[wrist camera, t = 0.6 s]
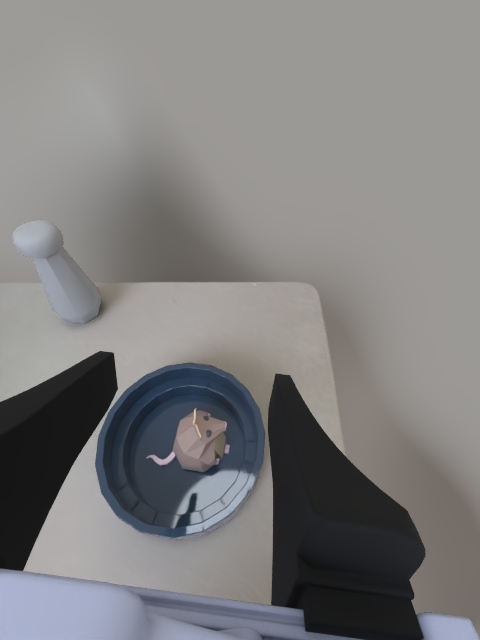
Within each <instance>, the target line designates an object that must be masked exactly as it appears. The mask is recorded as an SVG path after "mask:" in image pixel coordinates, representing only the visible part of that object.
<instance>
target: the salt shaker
mask: <svg viewBox="0 0 480 640" xmlns="http://www.w3.org/2000/svg"><path fill="white" fill-rule="evenodd" d="M13 242H14V244H15V246H16V247H17V249H18V250H19V251H20V252H21V253H22V254H23V255H24V256H25V257H29V258H32V259H33V261H34V264H35V266H36V269H37V271H38V274H39V276H40V279H41V282H42V284H43V287H44V289H45V292H46V294H47V297H48V300H49V302H50V305H51V307H52V310H53V311H54V312H55V313H56V314H57V315H58V316H59V317H60V318H62V319H64V320H67V321H69V322H71V323H87V322H89V321H90V320H92V319H93V318H95V317H96V316H98V312H99V307H100V303H101V295H100V291H99V289H98V288H97V287H96V286H95V284H94V283H93V282H92V281H91V280H90V278H89V277H88V276H87V275H86V274H85V273H84V271H82V269H81V268H80V267H79V265H78V264H77V263H76V262H75V261H74V260H73V258H72V257H71V256H70V255H69V254H68V252H67V251H66V250H65V249H64V248H63V236H62V233H61V231H60V230H59V229H58V228H57V226H56V225H54V224H53V223H51V222H48V221H43V220H35V221H30V222H27V223H24V224H23V225H21V226H19V227H18V228H17V229H16V230H15V231H14V233H13Z"/></svg>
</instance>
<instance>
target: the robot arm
mask: <svg viewBox="0 0 480 640" xmlns="http://www.w3.org/2000/svg"><path fill="white" fill-rule="evenodd" d="M117 389H118V387H117V378H116V369H115V360H114V353H111V352H103V351H99V352H97V353H95V354H94V355H92V356H90V357H88V358H86V359H85V360H83V361H81V362H79V363H78V364H76V365H74V366H72V367H71V368H69V369H67V370H65V371H63V372H62V373H60V374H58V375H56V376H54V377H52V378H50V379H49V380H47V381H45V382H43V383H41V384H39V385H37V386H35V387H33V388H31V389H29V390H27V391H25V392H22V393H20V394H18V395H16V396H13V397H11V398H9V399H6V400H4V401H2V402H0V640H480V639H479V637H478V635H477V633H476V631H475V629H474V626H473V624H472V622H471V620H469V619H468V618H467V617H461V616H454V615H447V614H439V613H432V612H424V613H419V614H417V615H416V614H415V611H414V608H413V605H412V602H411V600H413V599H414V592H413V589H412V587H411V584H410V581H409V579H410V578H411V577H412V575H413V574H414V573H415V572H416V570H417V569H418V568H419V567H420V565H421V564H422V562H423V560H424V558H425V548H424V545H423V543H422V541H421V538H420V536H419V533H418V531H417V529H416V527H415V525H414V523H413V522H412V519H411V517H410V515H409V513H408V511H407V510H406V509H405V508H403V507H402V506H400V504H398V503H397V502H395V501H394V500H393V499H392V498H391V497H389V496H388V495H387V494H386V493H384V492H383V491H382V490H381V489H379V488H378V487H377V486H376V485H375V484H374V483H373V482H371V481H370V480H369V479H368V478H367V477H366V476H365V475H364V474H363V473H362V472H360V471H359V470H358V469H357V468H356V467H355V466H354V465H353V464H352V463H351V462H350V461H349V460H348V459H347V457H346V456H345V455H344V454H343V453H342V452H341V451H340V450H339V449H338V448H337V447H336V445H335V444H334V443H333V442H332V441H331V439H330V438H329V437H328V436H327V434H326V433H325V432H324V430H323V429H322V428H321V426H320V425H319V424H318V422H317V421H316V419H315V418H314V416H313V415H312V413H311V412H310V410H309V409H308V407H307V405H306V404H305V402H304V400H303V399H302V397H301V395H300V393H299V392H298V390H297V388H296V386H295V384H294V382H293V380H292V378H291V377H290V375H282V374H276V375H275V380H274V384H273V389H272V394H271V399H270V404H269V412H268V435H269V446H270V457H271V467H272V478H273V563H272V600H271V605H265V604H257V603H250V602H243V601H235V600H228V599H221V598H213V597H206V596H199V595H191V594H184V593H177V592H169V591H162V590H154V589H147V588H140V587H132V586H125V585H118V584H110V583H106V582H99V581H92V580H84V579H77V578H70V577H62V576H55V575H47V574H40V573H33V572H25V571H23V570H24V567H25V565H26V563H27V560H28V558H29V556H30V553H31V551H32V548H33V546H34V544H35V541H36V539H37V537H38V535H39V533H40V530H41V528H42V526H43V524H44V522H45V520H46V517H47V515H48V513H49V511H50V509H51V507H52V505H53V503H54V501H55V499H56V497H57V495H58V492H59V490H60V488H61V486H62V484H63V483H64V481H65V479H66V477H67V475H68V473H69V471H70V469H71V467H72V465H73V463H74V462H75V460H76V458H77V457H78V455H79V453H80V452H81V450H82V449H83V447H84V446H85V444H86V443H87V441H88V440H89V438H90V437H91V435H92V433H93V432H94V430H95V429H96V427H97V426H98V424H99V423H100V421H101V420H102V418H103V416H104V415H105V413H106V412H107V410H108V408H109V406H110V404H111V402H112V400H113V398H114V396H115V394H116V392H117Z"/></svg>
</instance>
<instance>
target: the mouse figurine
mask: <svg viewBox="0 0 480 640" xmlns="http://www.w3.org/2000/svg"><path fill="white" fill-rule="evenodd" d="M196 409H197V408H195V409H194V412H192V413H190V414H189V415H187V416H186V417H184V418H183V419H181V420H180V423H179V426H178V430H177V434H176V438H175V442H174V446H173V451H172V453H171V454H170V455H169V456H168V457H167V458H166V459H163V460H162V459H159V458H158V457H156V456H155V455H149V456H148V457H146V459H148V458H153V460H154V461H155V462H156V463H158V464H159V465H160V466H164V465H168V464H169V463H171V462H172V461H173V460H174V459H175V457H177V459H178V461H179V463H180V464H181V466H182V468H183V469H187V470H193V471H199V472H205V471H206V470H208V469H209V468H210V467H212V466H213V465H217V464H218V463H219V460H221V459H222V457H223V455H224V453H226V454H228V453H229V447H230V445H227V444H226V436H225V434H224V432H225V431H226V429H225V428H226V425H227V423H226V422H225V421H221V420H219V419H216V418H213V417H210V415H211V414H209V413H207V412H205V411H201V410H198V411H196Z"/></svg>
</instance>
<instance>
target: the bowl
mask: <svg viewBox="0 0 480 640" xmlns="http://www.w3.org/2000/svg"><path fill="white" fill-rule="evenodd" d="M195 408H197V409H196V411H198V410H201V411H205V412H207V413H209V414H211V415H210V417H213V418H216V419H219V420H221V421H225V422H226V423H227V425H226V428H225V429H226V431H225V432H224V434H225V436H226V444H227V445H230V447H229V453H228V454H226V453H224V455H223V457H222V459H221V460H219V463H218V464H217V465H213V466H212V467H210V468H209V469H208V470H206V471H205V472H199V471H193V470H187V469H183V468H182V466H181V464H180V463H179V461H178V459H177V457H175V459H174V460H173V461H172V462H171V463H169V464H168V465H164V466H160V465H159V464H158V463H156V462H155V461H154V460H153V458H148V459H146V457H148V456H149V455H155V456H156V457H158V458H159V459H162V460H163V459H166V458H167V457H168V456H169V455H170V454H171V453H172V451H173V446H174V442H175V438H176V434H177V430H178V426H179V423H180V420H181V419H183V418H184V417H186V416H187V415H189V414H190V413H192V412H194V409H195ZM264 442H265V431H264V426H263V422H262V418H261V413H260V409H259V407H258V406H257V404H256V402H255V401H254V399H253V397H252V396H251V394H250V392H249V390H248V389H247V388H246V387H245V386H244V385H242V384H241V383H240V382H239V381H238V380H237V379H236V378H235V377H233V376H232V375H231V374H229V373H227V372H225V371H222V370H220V369H218V368H216V367H213V366H211V365H204V364H196V363H183V364H176V365H169V366H166V367H163V368H161V369H158V370H156V371H154V372H151V373H149V374H147V375H145V376H143V377H142V378H141V379H139V380H138V381H137V382H136V383H134V384H133V385H132V386H130V387H129V388H128V389H126V391H124V393H123V394H122V395H121V397H120V398H119V399H118V400H117V402H116V403H115V404H114V406H113V407H112V408H111V409H110V411H109V413H108V415H107V417H106V420H105V422H104V424H103V427H102V429H101V432H100V434H99V437H98V444H97V453H96V462H95V464H96V465H95V466H96V471H97V475H98V480H99V485H100V489H101V492H102V495H103V496H104V498H105V499H106V501H107V502H108V504H109V505H110V507H111V508H112V510H113V511H114V513H115V514H116V516H117V517H118V518H119V519H121V520H122V521H124V522H126V523H127V524H129V525H130V526H132V527H133V528H135V529H136V530H138V531H139V532H141V533H143V534H148V535H153V536H158V537H164V538H170V539H176V540H184V539H188V538H193V537H197V536H202V535H207V534H209V533H210V532H212V531H213V530H215V529H217V528H218V527H220V526H221V525H223V524H224V523H226V522H228V521H229V520H231V518H233V517H234V515H235V514H236V513H237V512H238V510H239V509H240V508H241V507H242V505H243V504H244V503H245V502H246V500H247V499H248V498H249V496H250V494H251V492H252V489H253V487H254V484H255V482H256V479H257V477H258V474H259V472H260V469H261V466H262V463H263V455H264Z"/></svg>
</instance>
